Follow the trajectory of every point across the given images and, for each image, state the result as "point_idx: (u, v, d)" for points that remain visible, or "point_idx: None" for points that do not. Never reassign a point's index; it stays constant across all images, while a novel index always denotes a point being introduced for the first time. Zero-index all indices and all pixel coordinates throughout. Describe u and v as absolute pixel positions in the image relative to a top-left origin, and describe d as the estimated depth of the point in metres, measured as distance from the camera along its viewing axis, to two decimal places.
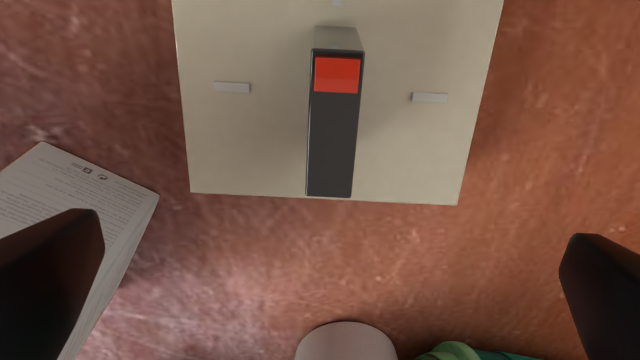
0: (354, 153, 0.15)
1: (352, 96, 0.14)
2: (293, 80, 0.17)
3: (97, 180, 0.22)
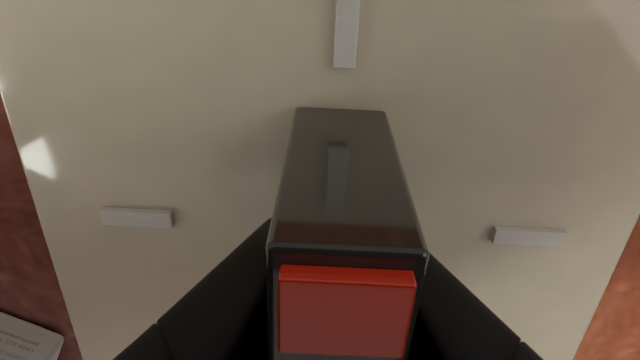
0: None
1: (386, 352, 0.05)
2: (258, 206, 0.09)
3: None
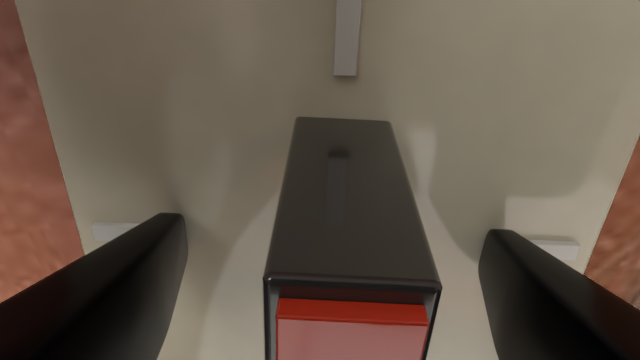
0: None
1: None
2: None
3: None
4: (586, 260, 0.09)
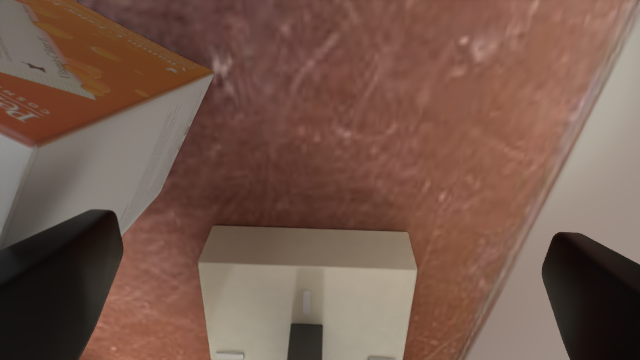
0: None
1: None
2: None
3: (178, 146, 0.18)
4: None
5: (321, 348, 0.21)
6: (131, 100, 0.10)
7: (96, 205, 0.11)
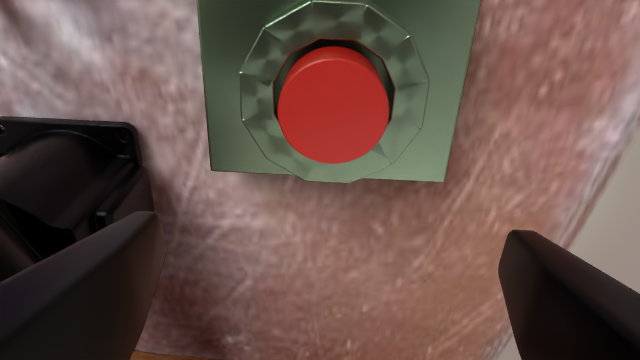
0: None
1: None
2: None
3: None
4: None
5: None
6: None
7: None
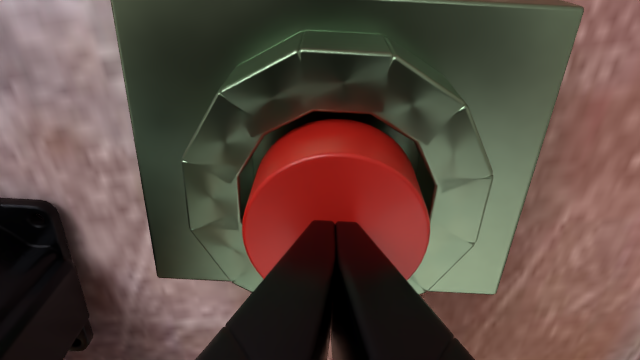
0: None
1: None
2: None
3: None
4: None
5: None
6: None
7: None
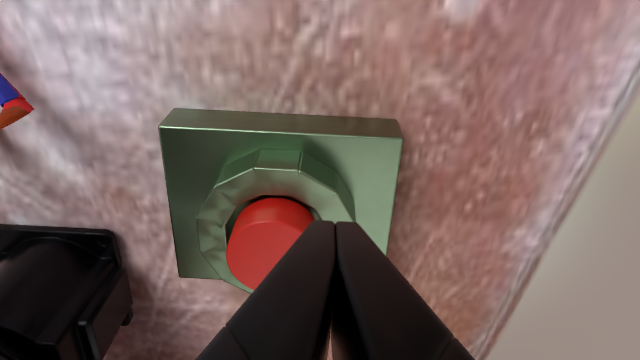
0: None
1: None
2: None
3: None
4: None
5: None
6: None
7: None
